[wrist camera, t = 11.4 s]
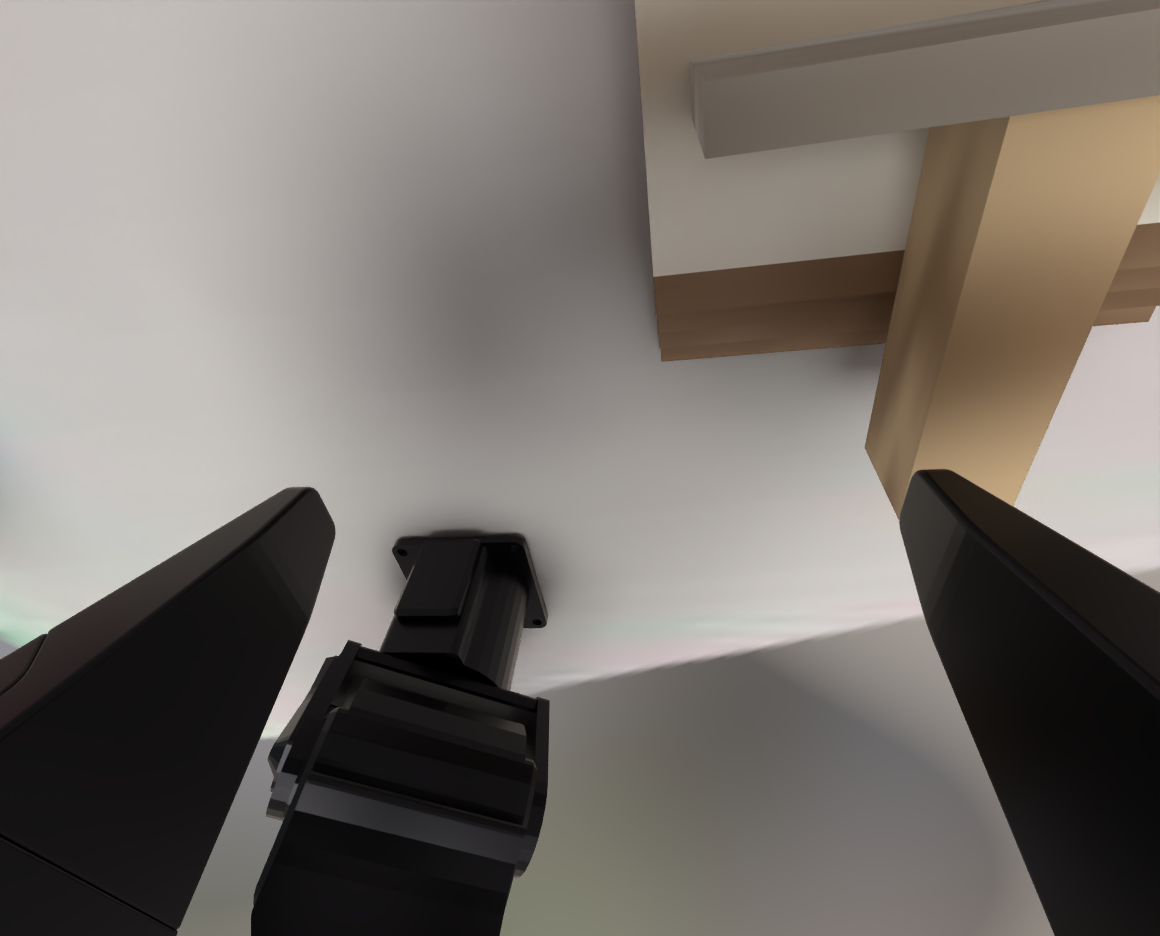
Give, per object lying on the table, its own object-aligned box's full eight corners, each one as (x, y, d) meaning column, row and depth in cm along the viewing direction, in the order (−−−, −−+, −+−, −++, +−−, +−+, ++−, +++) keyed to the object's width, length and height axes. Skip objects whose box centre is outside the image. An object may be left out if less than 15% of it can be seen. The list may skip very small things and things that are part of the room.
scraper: (1150, 432, 15) (1275, 539, 12) (699, 456, 17) (708, 553, 14) (1439, -68, 9) (1833, -103, 6) (690, 60, 11) (704, 82, 8)
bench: (1126, 307, 17) (1229, 373, 14) (661, 347, 20) (662, 411, 17) (1391, -259, 10) (1698, -368, 7) (632, -93, 13) (626, -122, 10)
